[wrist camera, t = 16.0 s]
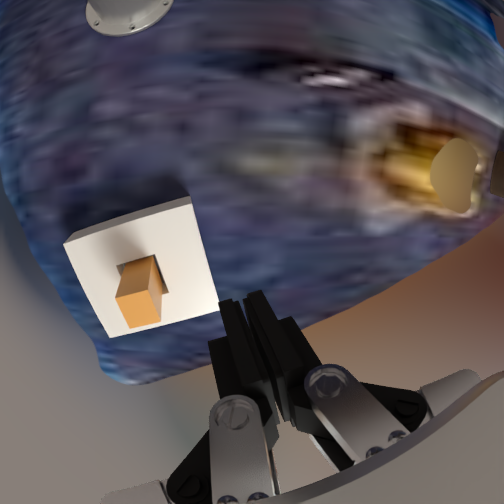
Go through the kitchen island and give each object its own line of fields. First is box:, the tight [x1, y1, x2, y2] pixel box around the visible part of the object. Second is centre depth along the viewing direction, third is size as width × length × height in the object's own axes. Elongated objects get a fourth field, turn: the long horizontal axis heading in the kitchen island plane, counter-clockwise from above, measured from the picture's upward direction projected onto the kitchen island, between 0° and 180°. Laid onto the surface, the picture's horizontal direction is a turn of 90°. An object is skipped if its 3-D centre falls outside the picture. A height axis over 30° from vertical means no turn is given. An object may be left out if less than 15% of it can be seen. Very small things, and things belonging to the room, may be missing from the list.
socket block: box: [63, 196, 220, 338], centre depth 37 cm, size 16×18×4 cm
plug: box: [115, 256, 163, 329], centre depth 33 cm, size 4×4×10 cm
